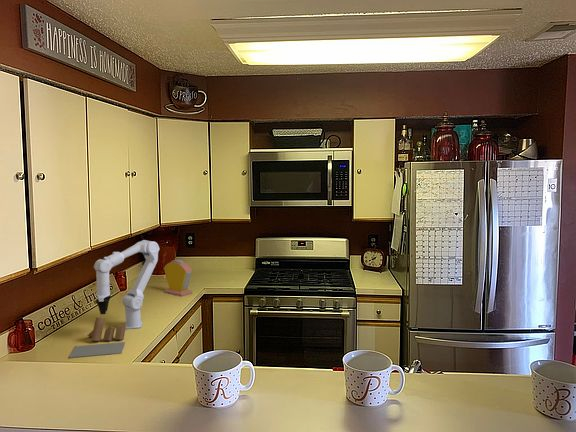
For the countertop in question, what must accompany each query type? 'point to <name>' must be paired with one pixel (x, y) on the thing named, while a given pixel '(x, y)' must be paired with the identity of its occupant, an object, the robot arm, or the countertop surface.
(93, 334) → the wooden block set
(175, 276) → the yellow arched block
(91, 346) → the mat
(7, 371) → the countertop surface
